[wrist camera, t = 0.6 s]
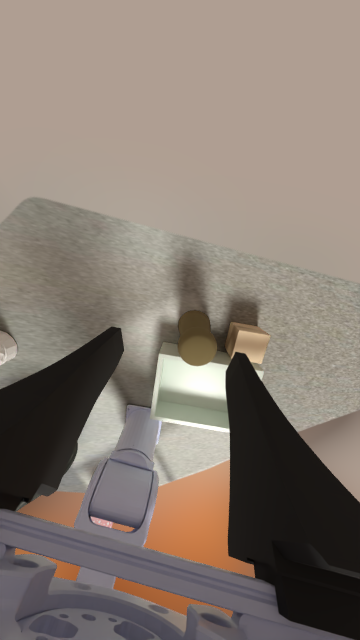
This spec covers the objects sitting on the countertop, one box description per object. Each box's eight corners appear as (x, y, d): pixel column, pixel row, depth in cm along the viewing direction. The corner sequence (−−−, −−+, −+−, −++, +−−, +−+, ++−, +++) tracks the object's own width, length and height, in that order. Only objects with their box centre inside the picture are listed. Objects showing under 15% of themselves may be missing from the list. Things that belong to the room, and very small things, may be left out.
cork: (205, 306, 29) (215, 322, 19) (214, 335, 31) (228, 366, 20) (173, 316, 30) (166, 337, 20) (183, 344, 32) (182, 379, 21)
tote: (234, 413, 35) (242, 434, 30) (154, 399, 35) (149, 418, 30) (252, 357, 32) (264, 371, 27) (163, 341, 32) (159, 353, 27)
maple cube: (249, 350, 31) (261, 363, 27) (224, 346, 31) (231, 358, 27) (257, 326, 30) (270, 335, 25) (230, 321, 30) (239, 330, 25)
